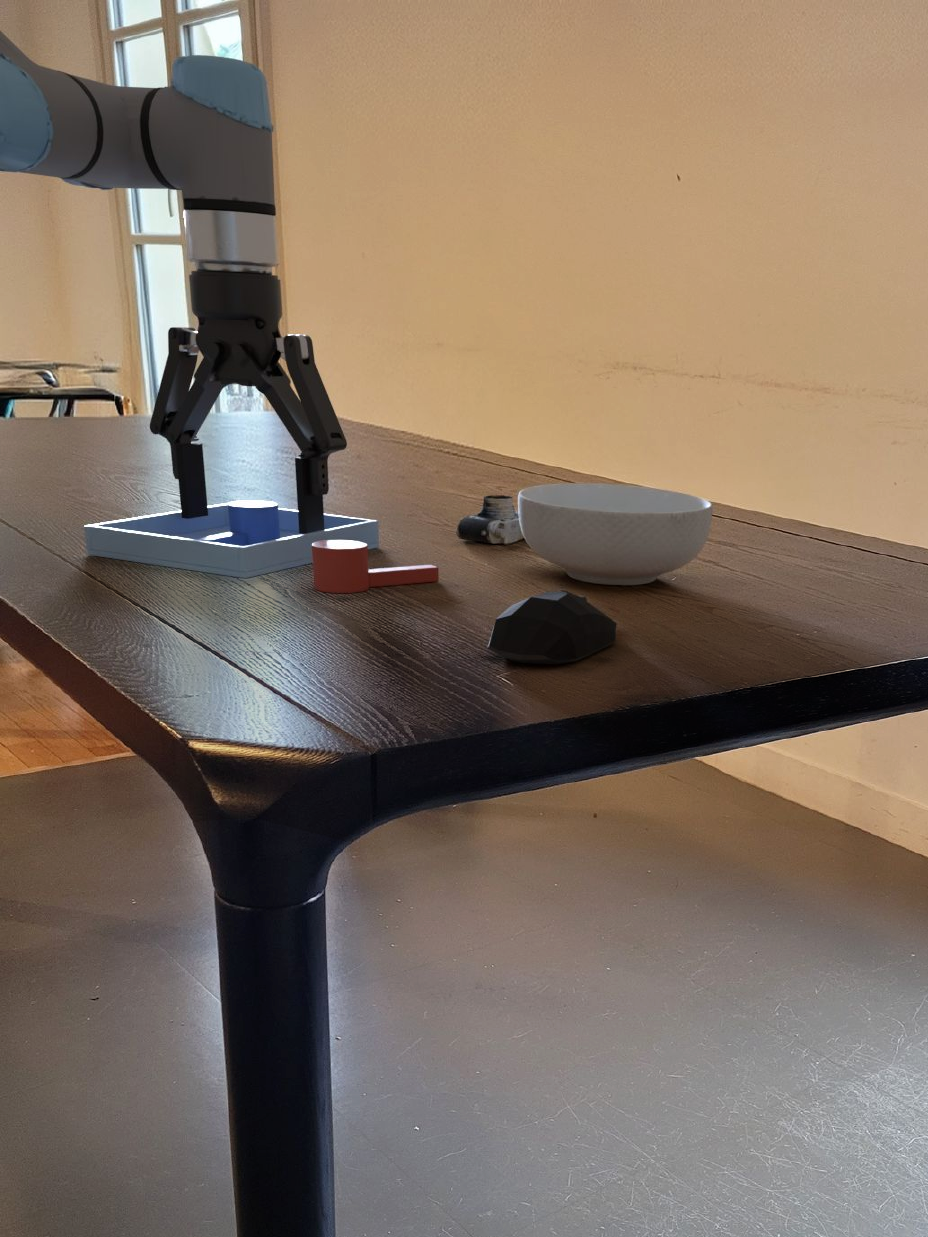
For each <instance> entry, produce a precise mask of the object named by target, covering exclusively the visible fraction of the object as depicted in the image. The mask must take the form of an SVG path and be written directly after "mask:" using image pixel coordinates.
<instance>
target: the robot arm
mask: <svg viewBox="0 0 928 1237" xmlns="http://www.w3.org/2000/svg"><path fill="white" fill-rule="evenodd" d="M171 64H172V65H171V79H170V86H163V87H162V86H161V87H142V86H141V87H140V86H123V85H122V86H120V85H112V84H108V83H104V82H100V81H96V80H93V79H89V78H85V77H81V76H78V75H74V74H70V73H68V72H65V71H61V70H56V69H53V68H49V67H46V66H42V65H39V64H38V63H36V62H34V61H33V60H32V59H31V58H29V57H28V56H27V55H26V54H25V53H24V52H23V51H22V50H21V49H20V48H19V47H18V46H17V45H16V44H15V43H14V42H13V41H12V40H11V39H10V38H9V37H7V35H5V33H3V32H2V30H0V172H5V173H22V174H29V175H38V176H44V177H52V178H58V179H61V180H62V181H63V182H65V183H67V184H69V185H72V186H78V187H85V188H89V189H99V190H102V191H108V190H109V191H110V190H114V189H133V190H134V189H135V190H136V189H138V190H139V189H141V190H142V189H143V190H147V189H149V190H151V189H152V190H171V191H181V198H182V206H183V218H184V233H185V234H184V235H185V245H186V246H185V247H186V259H187V261H188V262H189V263H190V264H191V263H192V264H194V266H195V270H191V271H190V274H188V280H189V281H188V282H189V292H190V305H191V312H192V314H193V315H194V316H195V317H196V318H197V321H198V324H197V325H198V326H197V329H195V328H194V327H187V326H186V327H185V326H184V327H183V326H181V327H179V326H177V327H176V326H174V327H169V329H168V331H167V348H168V350H167V353H168V354H167V358H166V360H165V365H164V369H163V373H162V375H161V376H162V377H161V380H160V384H159V388H158V392H157V396H156V399H155V404H154V407H153V411H152V415H151V418H150V422H149V430H150V432H151V433H152V434H153V435H159V436H161V437H162V438H165V439H166V441H167V442H168V443H169V447H170V456H171V467H172V474H173V477H174V479H175V480H178V491H179V499H180V500H179V501H180V511H181V514H182V518H185V519H191V518H197V517H203V516H208V506H209V505H208V494H207V483H206V470H205V460H204V458H205V457H204V448H203V443H197V442H198V441H200V438H198V436H197V435H198V433H199V431H200V429H201V428H202V426H203V425H204V423H205V421H206V419H207V417H208V415H209V414H210V412H211V410H212V409H213V406H214V405H215V403H216V401H217V400H218V398H219V396H220V394H221V392H222V391H223V389H225V388H226V387H227V386H230V385H239V386H242V387H255V389H256V390H257V391H258V392H259V393H261V394H263V395H264V397H265V398H266V400H267V401H268V403H269V404H270V406H271V407H272V409H273V410H274V412H275V413H276V415H277V416H278V418H279V419H280V421H281V423H282V424H283V426H284V428H285V429H286V431H287V432H288V433H289V435H290V437H291V438H292V439H293V441H294V442H295V444H296V446H297V447H298V449H299V450H300V452H301V453H300V454H298V456H297V457H294V463H295V465H294V466H295V468H294V469H295V483H296V499H297V500H296V502H297V504H296V505H297V511H298V522H299V534H306V533H311V532H316V531H321V530H325V529H324V514H325V510H324V508H325V507H324V495H328V493H329V489H330V486H329V485H330V483H329V464H328V459H329V457H330V455H332V454H334V453H337V452H340V451H344V450H345V449H346V448H347V446H348V442H347V439H346V436H345V433H344V431H343V429H342V426H341V423H340V422H339V419H338V417H337V414H336V411H335V409H334V406H333V404H332V401H331V399H330V397H329V394H328V391H327V389H326V386H325V384H324V382H323V379H322V377H321V374H320V372H319V370H318V367H317V364H316V361H315V360H316V359H315V351H314V345H313V340H312V338H311V336H309V335H307V334H286V335H285V336H284V337H283V336H282V334H281V332H280V331H281V330H280V327H279V324H280V320H281V319H282V317H283V303H282V302H283V300H282V286H281V285H282V284H281V279H280V278H279V276H278V275H276V274H273V268H278V266H279V265H280V258H279V257H280V254H279V242H278V241H279V240H278V224H277V210H276V208H277V207H276V202H275V199H276V198H275V176H274V175H275V174H274V154H273V133H274V125H273V123H272V114H271V107H270V97H269V89H268V82H267V78H266V76H265V74H264V72H263V71H262V70H261V69H260V68H259V67H258V66H257V65H255V64H253V63H251V62H248V61H245V60H242V59H237V58H231V57H224V56H218V55H207V54H190V55H187V56H186V55H183V56H178V57H176V58H175V59H174V60H173V62H172V63H171ZM199 353H200V354H201V356H202V359H201V361H200V363H199V365H198V367H197V362H198V356H199ZM280 359H282V360H284V361H285V363H286V367H287V368H286V369H287V371H288V373H289V374H287V372H286V371H285V369H284V368H283V367H282V365H281V364H280ZM196 367H197V369H196ZM288 375H289V376H290V377H289V376H288ZM193 379H194V381H193ZM192 381H193V383H192ZM291 382H292V384H293V386H294V388H295V390H294V389H293V388H292V386H291ZM296 393H297V394H296Z"/></svg>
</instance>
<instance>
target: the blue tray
mask: <svg viewBox="0 0 928 1237" xmlns="http://www.w3.org/2000/svg"><path fill="white" fill-rule="evenodd" d="M229 503H230V502H227V503H226V502H225V503H220V504H213V505H207V506H208V516H203V517H197V518H191V519H185V518H182V514H181V510H175V511H169V512H164V513H156V514H150V515H143V516H138V517H131V518H126V519H118V520H111V521H105V522H100V523H99V522H98V523H93V524H86V525H84V526H83V527H84V537H85V544H86V554H87V555H88V556H94V557H101V558H106V559H113V560H121V561H126V562H127V561H128V562H134V563H141V564H147V565H153V566H160V567H167V568H174V569H180V570H188V571H194V572H199V573H207V574H214V575H221V576H227V577H232V578H233V577H234V578H241V579H249V578H253V577H258V576H261V575H267V574H270V573H275V572H279V571H283V570H288V569H291V568H296V567H301V566H305V565H309V564H313V562H312V543H314V542H318V541H324V540H352V541H359V542H363V543H366V544H367V545H368V551H369V550H373V549H377V548H379V547H380V532H379V520H378V519H369V518H361V517H355V516H353V517H352V516H345V515H339V514H338V515H336V514H329V513H324V529H325V530H321V531H316V532H311V533H306V534H299V522H298V509H297V510H296V509H288V508H280V507H278V510H279V526H280V539H276V540H271V541H266V542H261V543H257V544H252V545H247V546H237V545H229V544H222V543H215V542H208V541H201V540H193V539H196V538H202V537H207V536H213V535H218V534H224V533H229V532H230V523H229V510H228V504H229Z"/></svg>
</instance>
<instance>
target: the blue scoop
mask: <svg viewBox="0 0 928 1237" xmlns="http://www.w3.org/2000/svg"><path fill="white" fill-rule="evenodd" d="M228 503H229V504H228V510H229V523H230V532H229V533H224V534H218V535H213V536H207V537H202V538H196V539H193V540H201V541H208V542H215V543H222V544H229V545H237V546H247V545H252V544H257V543H261V542H266V541H271V540H276V539H280V526H279V510H278V508H279V504H278V503H277V502H274V501H269V500H268V501H267V500H254V499H253V500H250V499H249V500H236V501H235V500H234V501H231V502H228Z"/></svg>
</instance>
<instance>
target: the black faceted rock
mask: <svg viewBox="0 0 928 1237" xmlns="http://www.w3.org/2000/svg"><path fill="white" fill-rule="evenodd" d="M616 641H617V622H616V621H614V620H613V619H612V618H611V617H610V616H608V615H606V613H604V612H603V611H601V610H600V609H598V608H597V607H596V606H594V605H593V604H592V603H590V602H589V601H588V598H587V597H586V596H583V595H577V594H574V593H572V592H569V591H568V590H563V589H561V590H550V591H548V592H543V593H540V594H537V595H533V596H530V597H527V598H525V599H523V600H520V601H518V602H516V603H513V604H512V605H510V606H509V607H508V608H506V609H505V611H503V612H502V613H501V614H500V615H499V616H497V617H496V619H495V620H494V624H493V628H492V631H491V634H490V638H489V641H488V644H487V649H488V650H490V651H491V652H493V653H495V654H496V655H498V656H499V657H501V658H504V659H505V660H509V661H511V662H515V663H516V662H517V663H522V664H528V665H529V664H531V665H532V664H533V665H561V664H568V663H574V662H577V661H579V660H580V661H581V660H582V659H584V658H586V657H588V656H590V655H592V654H594V653H596V652H599V651H600V650H603V649H605V648H607V647H609V646H610V645H612V644H614V643H615V642H616Z"/></svg>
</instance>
